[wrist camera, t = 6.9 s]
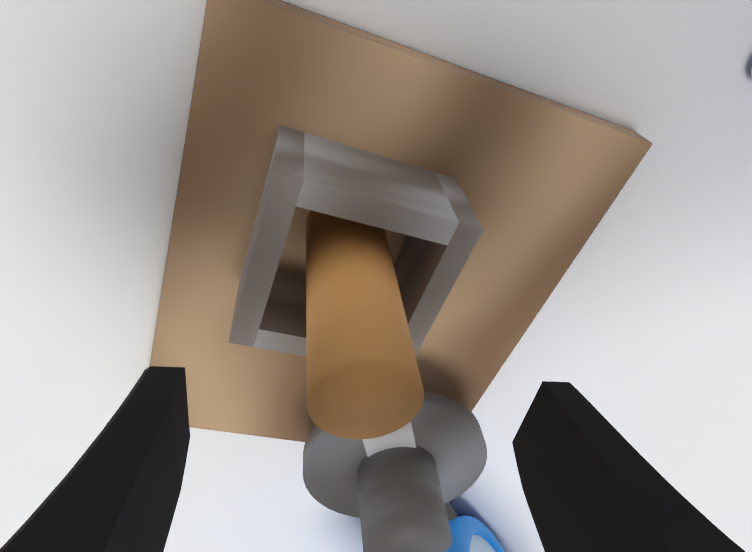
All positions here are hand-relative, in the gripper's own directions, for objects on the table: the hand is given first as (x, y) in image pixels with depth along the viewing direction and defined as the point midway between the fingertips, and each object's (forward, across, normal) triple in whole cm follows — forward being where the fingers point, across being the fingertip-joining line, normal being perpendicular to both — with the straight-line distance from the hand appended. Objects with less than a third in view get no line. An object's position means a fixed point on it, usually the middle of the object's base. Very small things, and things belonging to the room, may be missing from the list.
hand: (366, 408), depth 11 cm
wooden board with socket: (+8, -1, +3) cm, 9 cm away
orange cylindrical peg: (+7, 0, 0) cm, 7 cm away
